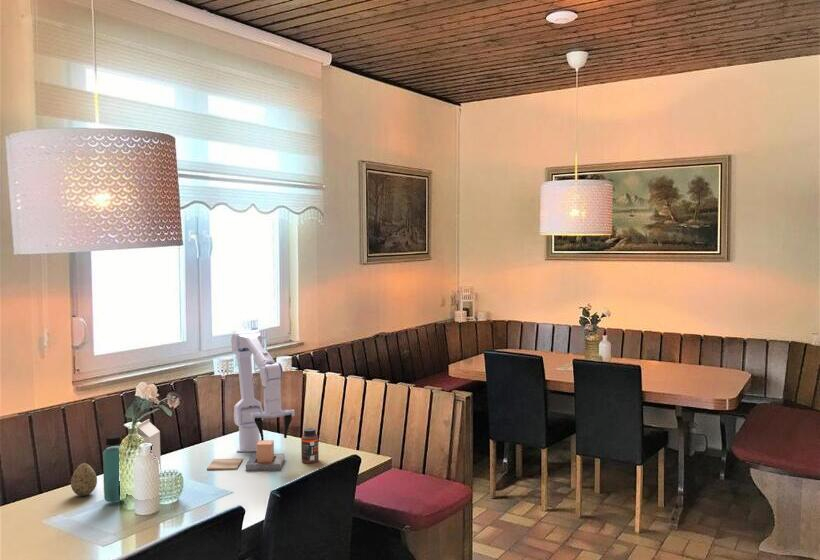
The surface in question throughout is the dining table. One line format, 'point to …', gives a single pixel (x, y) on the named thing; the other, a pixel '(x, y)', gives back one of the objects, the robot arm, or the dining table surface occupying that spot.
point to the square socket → (265, 463)
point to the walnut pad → (225, 464)
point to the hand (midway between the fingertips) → (273, 438)
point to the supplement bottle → (309, 446)
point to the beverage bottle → (111, 469)
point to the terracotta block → (265, 451)
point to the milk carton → (151, 437)
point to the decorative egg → (83, 480)
